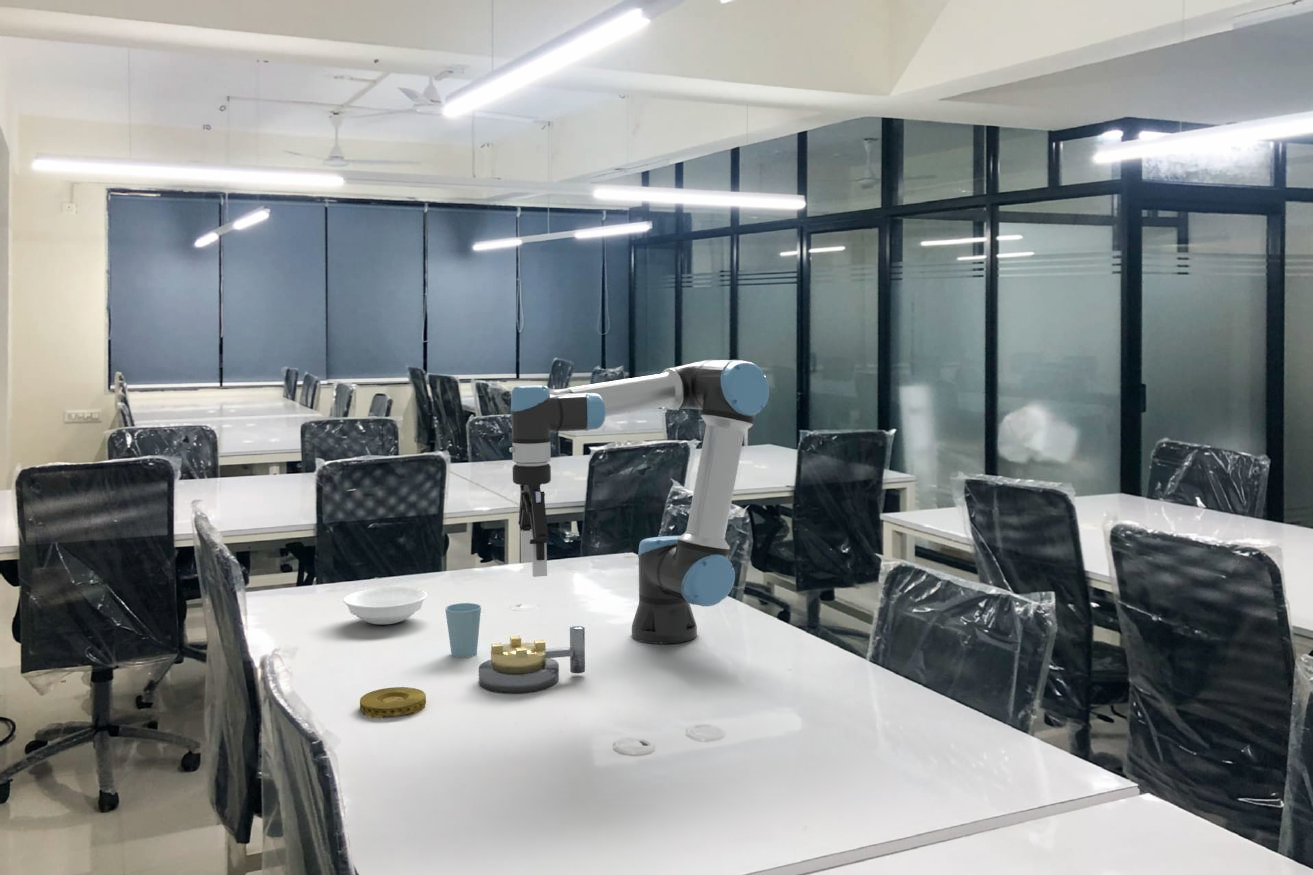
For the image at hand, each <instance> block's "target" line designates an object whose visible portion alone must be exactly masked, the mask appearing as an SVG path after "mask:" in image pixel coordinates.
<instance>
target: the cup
mask: <svg viewBox="0 0 1313 875" xmlns="http://www.w3.org/2000/svg"><path fill="white" fill-rule="evenodd" d="M481 612H482V606H481V605H480V604H478V603H473V602H461V603H460V602H459V603H453V604H449V605H446V607H445V616H446V623H447V631H448V638H449V647H450V653H451V655H452V657H455V658H469V657H472V656H476V655H477V654H478V645H479V644H478V643H479V633H480V624H481V623H480V621H481Z"/></svg>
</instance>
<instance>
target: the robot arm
mask: <svg viewBox="0 0 1313 875" xmlns="http://www.w3.org/2000/svg"><path fill="white" fill-rule="evenodd" d="M769 397H770V386H769V381H768V379H767V377H766V375H765V373H764V371H763V370H762V369H761V367H759V366H758V365H757V364H755V363H753V362H750V361H746V360H743V359H742V360H741V359H740V360H739V359H730V360H729V359H705V360H699V361H696V362H693V363H692V362H691V363H687V364H684V365H679V366H674V367H669V368H667V367H666V368H665V369H664V370H663V371H662V373H659V374H651V375H644V376H638V377H632V378H623V379H618V380H612V381H605V382H598V383H597V382H596V383H592V384H583V385H579V386H571V387H566V388H559V389H552V390H551V389H549V386H547V385H543V384H542V385H541V384H537V385H534V384H533V385H517V386H514V387H513V388H512V390H511V397H510V415H511V417H510V420H511V434H512V435H511V442H512V443H511V444H512V445H511V446H512V447H509V449H508V450H509V452H510V453H512V462H513V463H515V464H513V465H512V482H513V483H514V484H515V485H519V488H520V491H519V492H520V495H519V496H520V498H519V509H518V510H519V511H518V514H519V515H518V526H519V529H520V559H521V560H520V562H521V563H525V564H526V563H532V564H531V565H532V568H531V569H532V577H533V578H536V577H547V576H548V562H547V561H548V557H547V554H548V552H547V551H548V550H547V546H548V545H547V543H548V542H549V540H550V536H549V530H548V521H547V513H546V510H547V509H546V503H545V502H546V501H545V496H546V493H545V491H541V485H547V484H549V483H551V481H552V478H551V477H552V472H551V471H552V470H551V469H552V467H551V464H550V463H549V462H551V460H552V458H551V433H558V432H559V433H560V432H577V431H586V432H587V431H591V430H598V429H601V427H602V426H603V425H604V424H605V420H606V417H611V416H612V417H613V416H617V415H625V414H630V413H636V412H643V411H649V410H650V411H651V410H653V409H655V410H656V409H661V408H668V409H669V410H671V411H677V410H683V409H684V410H685V409H688V410H689V409H692V410H701V413H700V417H701V419H702V420H703V421H704V423H705V431H704V436H703V440H702V446H701V452H700V457H699V463H698V467H697V468H698V469H697V473H696V479H695V483H694V489H693V494H692V498H691V504H690V510H689V516H688V521H687V526H686V530H685V532H684V533H683V534H681V535H666V536H655V537H649V538H648V537H646V538H644V539H642V540H640V542H639V546H638V554H637V557H638V604H637V607H636V611H635V614H634V617H633V621H632V624H631V637H632V638H633V639H634V640H637V641H640V642H643V643H649V644H656V645H658V644H662V645H663V644H664V645H666V644H667V645H668V644H669V645H670V644H679V643H685V641H686V642H689V641H692V640H693V639H696V638H697V636H698V626H697V622H696V619H695V615H694V613H693V610H692V606H691V605H693V606H695V605H696V606H699V607H712V606H715V605H718V604H720V603H721V601H723V600H724V599H726V598H727V597H728V595H729V594H730V593H731V592H732V589H733V587H734V585H735V584H734V583H735V579H736V573H735V572H736V571H735V567H733V563H732V562H731V561H730V559H729V554H730V550H731V546H730V545H729V544H728V542H727V540H726V539H725V538H726V533H727V528H728V523H729V519H730V518H729V516H730V511H731V507H732V502H733V496H734V490H735V486H736V485H735V484H736V479H737V475H738V469H739V464H740V463H739V462H740V458H741V454H742V446H743V441H744V435H745V432H746V431H747V430H749V429H750V428H752V427H753V426H754V420H755V415H756V414H759V413H760V412H761V411H762V410H763V409H764V408H765V407H766V405H767V403H768V402H769Z"/></svg>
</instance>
